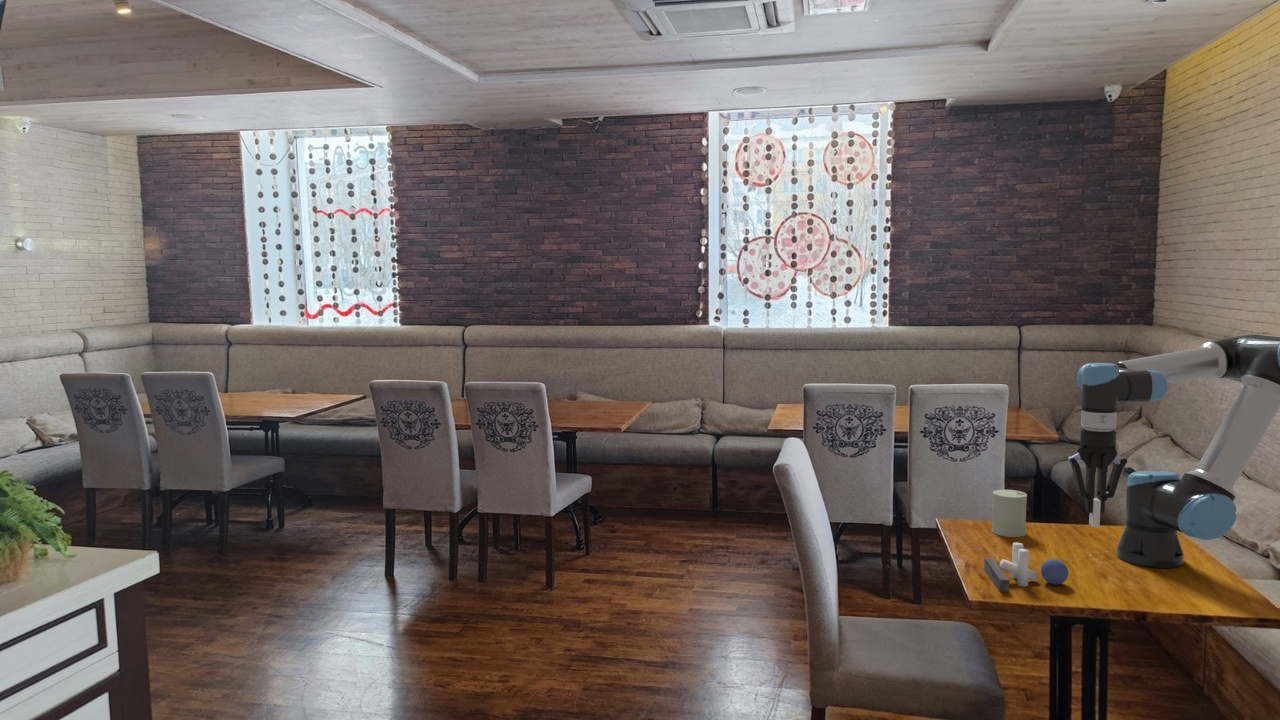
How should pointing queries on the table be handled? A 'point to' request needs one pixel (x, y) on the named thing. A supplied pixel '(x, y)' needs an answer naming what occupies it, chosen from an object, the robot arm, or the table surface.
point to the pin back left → (1023, 567)
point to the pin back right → (1016, 555)
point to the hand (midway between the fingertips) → (1094, 525)
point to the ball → (1054, 571)
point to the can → (1009, 513)
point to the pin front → (1014, 569)
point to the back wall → (996, 575)
